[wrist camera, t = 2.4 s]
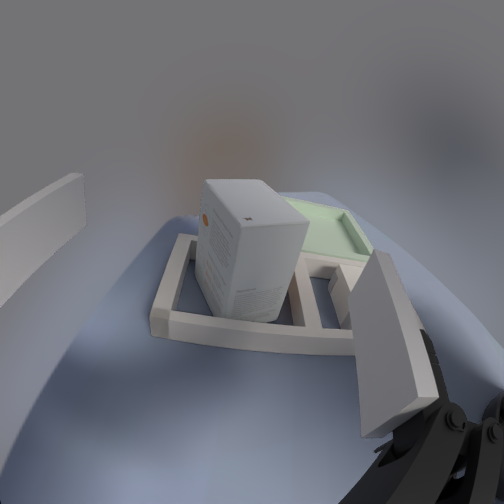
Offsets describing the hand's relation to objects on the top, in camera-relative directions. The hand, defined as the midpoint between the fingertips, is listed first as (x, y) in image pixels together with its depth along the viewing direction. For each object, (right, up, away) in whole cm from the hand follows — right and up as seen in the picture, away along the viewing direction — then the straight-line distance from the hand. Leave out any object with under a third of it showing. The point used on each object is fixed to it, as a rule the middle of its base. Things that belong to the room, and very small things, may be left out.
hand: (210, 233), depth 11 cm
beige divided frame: (+6, -6, +16) cm, 18 cm away
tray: (+11, +1, +28) cm, 31 cm away
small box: (0, -5, +15) cm, 16 cm away
